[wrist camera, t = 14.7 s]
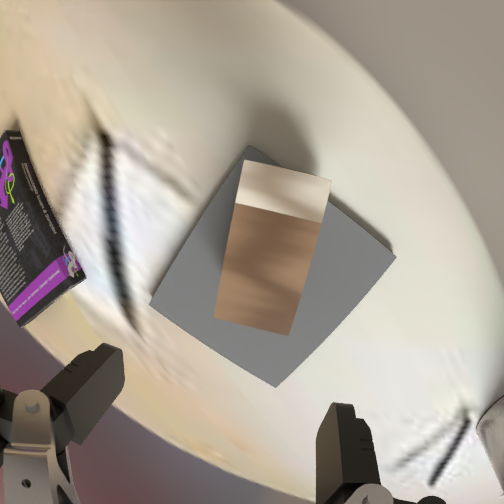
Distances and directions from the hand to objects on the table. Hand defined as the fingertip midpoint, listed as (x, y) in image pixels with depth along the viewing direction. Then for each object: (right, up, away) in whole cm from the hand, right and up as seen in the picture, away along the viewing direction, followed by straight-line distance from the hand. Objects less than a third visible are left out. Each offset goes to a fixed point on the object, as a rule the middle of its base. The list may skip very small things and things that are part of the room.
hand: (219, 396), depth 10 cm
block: (+1, +1, +11) cm, 11 cm away
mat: (+2, +3, +14) cm, 15 cm away
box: (-26, +8, +18) cm, 32 cm away
